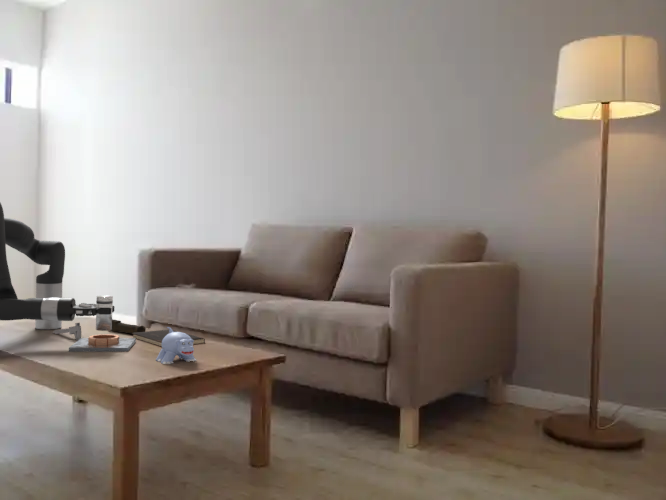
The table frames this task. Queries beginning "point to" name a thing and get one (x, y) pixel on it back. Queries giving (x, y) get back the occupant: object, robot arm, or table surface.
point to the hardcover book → (161, 336)
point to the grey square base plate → (103, 344)
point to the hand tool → (126, 327)
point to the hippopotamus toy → (176, 347)
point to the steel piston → (104, 320)
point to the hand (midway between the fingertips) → (112, 310)
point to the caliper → (71, 331)
